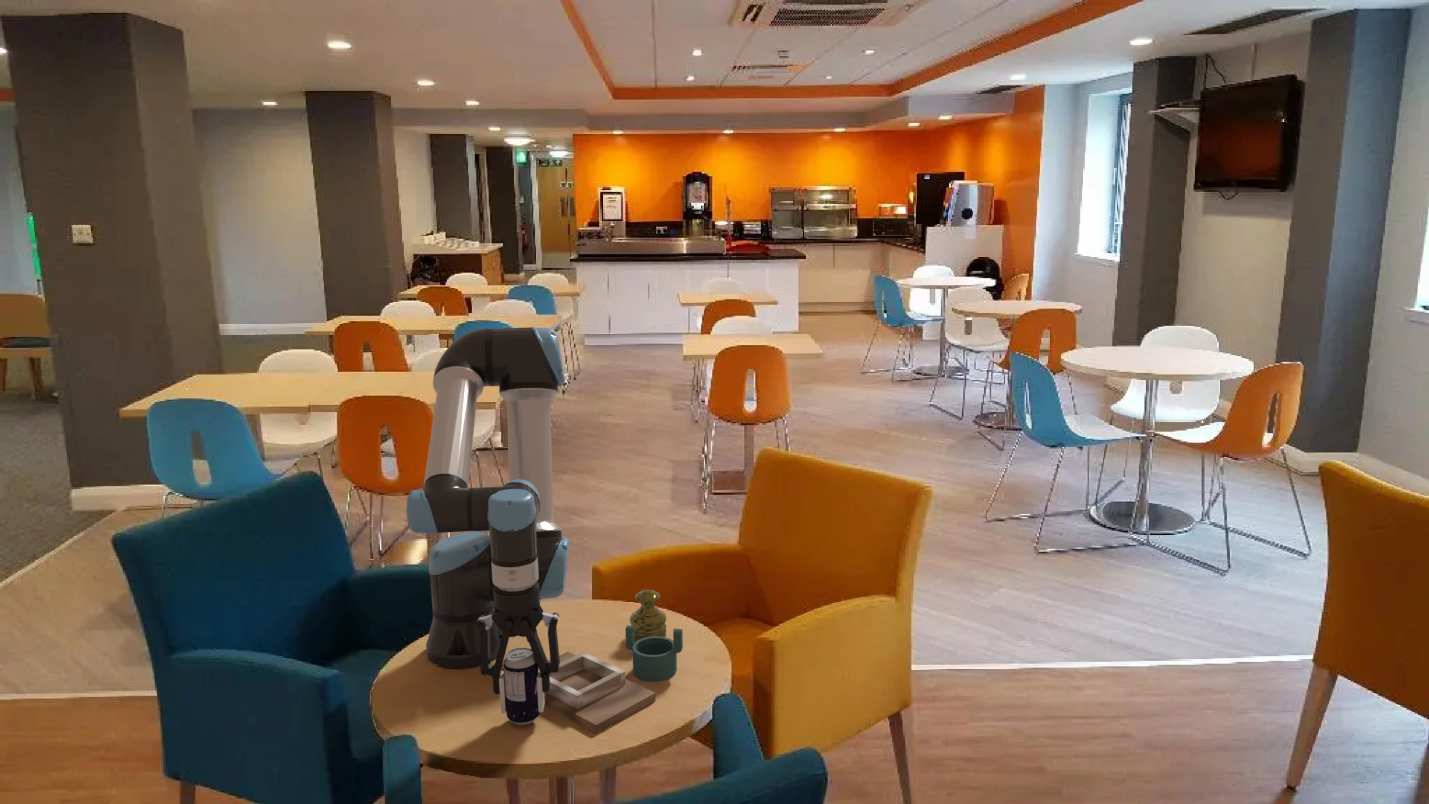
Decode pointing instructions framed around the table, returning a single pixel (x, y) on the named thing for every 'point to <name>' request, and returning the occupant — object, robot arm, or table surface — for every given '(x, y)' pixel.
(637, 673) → the teal cauldron pot
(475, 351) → the robot arm
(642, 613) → the brass calibration weight
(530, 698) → the beverage can
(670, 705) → the table surface
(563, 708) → the can holder
